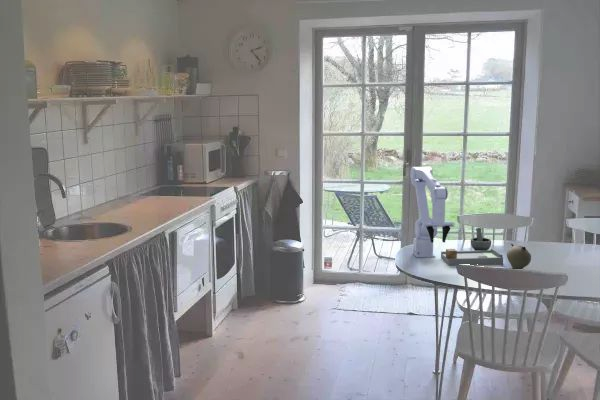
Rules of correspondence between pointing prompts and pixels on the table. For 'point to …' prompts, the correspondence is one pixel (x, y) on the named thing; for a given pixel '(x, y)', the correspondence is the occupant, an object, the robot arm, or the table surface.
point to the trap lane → (474, 258)
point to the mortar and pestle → (480, 242)
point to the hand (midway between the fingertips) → (437, 242)
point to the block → (451, 253)
